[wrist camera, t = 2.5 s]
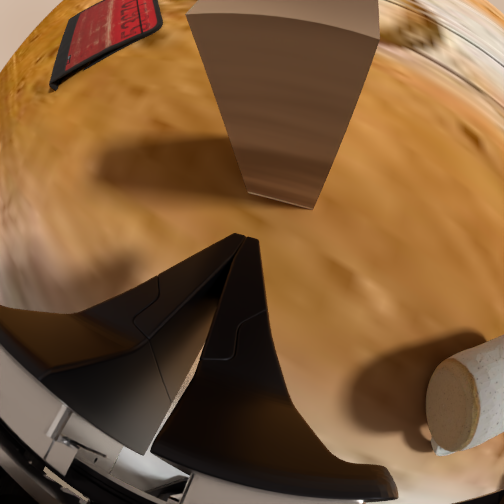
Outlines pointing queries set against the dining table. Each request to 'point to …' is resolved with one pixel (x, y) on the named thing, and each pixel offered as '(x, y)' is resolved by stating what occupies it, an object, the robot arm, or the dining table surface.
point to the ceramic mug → (467, 398)
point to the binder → (104, 33)
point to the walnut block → (286, 84)
